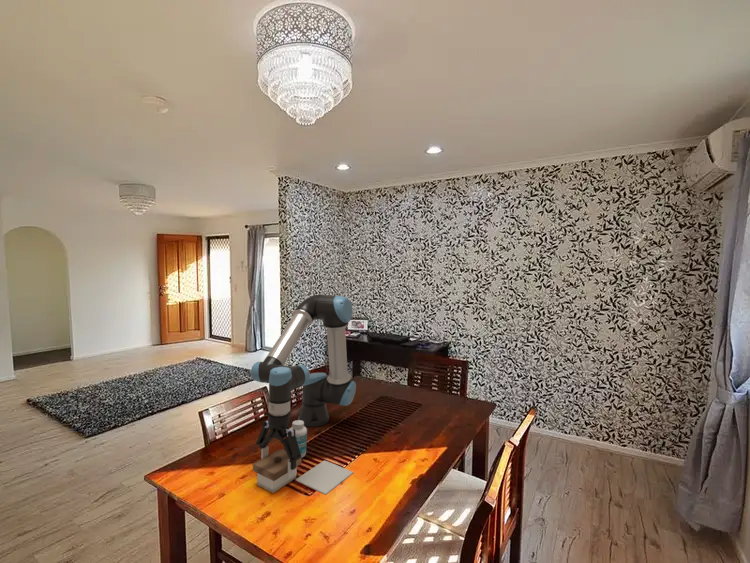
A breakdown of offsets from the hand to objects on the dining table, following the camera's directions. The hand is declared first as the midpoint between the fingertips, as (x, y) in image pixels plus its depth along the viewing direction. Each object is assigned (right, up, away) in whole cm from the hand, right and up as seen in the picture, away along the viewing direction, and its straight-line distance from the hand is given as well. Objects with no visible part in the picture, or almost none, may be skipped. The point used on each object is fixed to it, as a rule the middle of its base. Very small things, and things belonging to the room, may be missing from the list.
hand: (277, 471), depth 128 cm
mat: (+16, -4, +4) cm, 17 cm away
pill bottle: (+3, -3, +18) cm, 19 cm away
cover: (0, +1, 0) cm, 1 cm away
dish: (0, -4, 0) cm, 4 cm away
